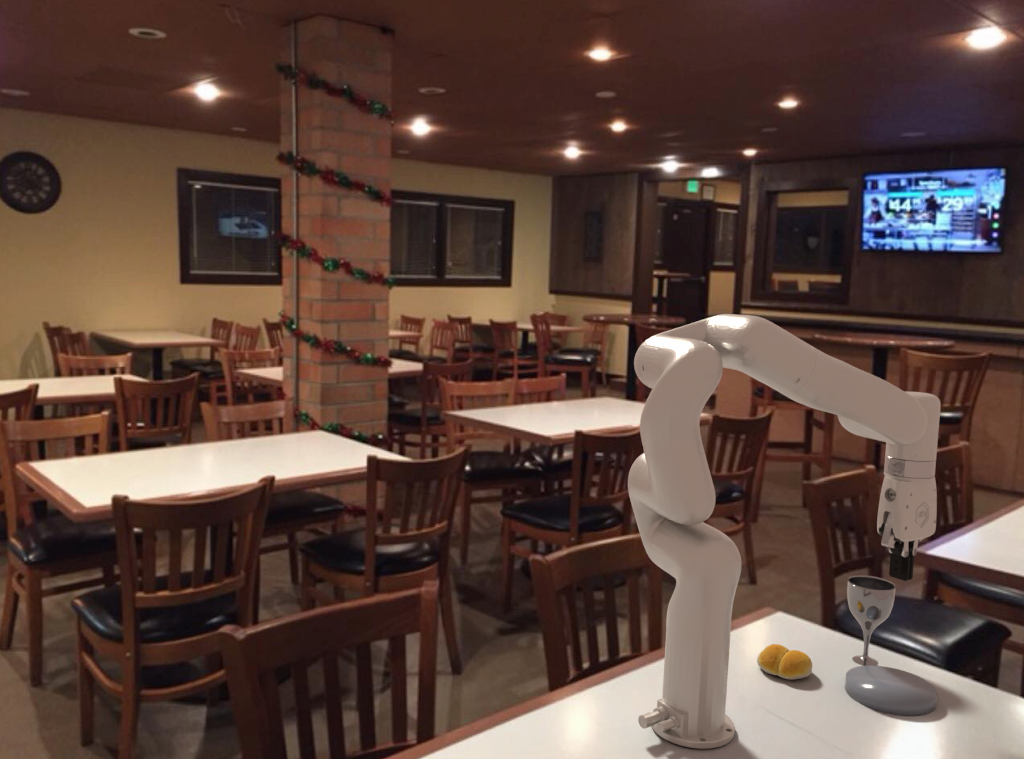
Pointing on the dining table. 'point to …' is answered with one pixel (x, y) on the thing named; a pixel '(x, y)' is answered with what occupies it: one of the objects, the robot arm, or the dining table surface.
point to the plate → (891, 690)
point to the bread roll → (784, 662)
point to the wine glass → (869, 607)
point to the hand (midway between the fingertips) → (900, 577)
